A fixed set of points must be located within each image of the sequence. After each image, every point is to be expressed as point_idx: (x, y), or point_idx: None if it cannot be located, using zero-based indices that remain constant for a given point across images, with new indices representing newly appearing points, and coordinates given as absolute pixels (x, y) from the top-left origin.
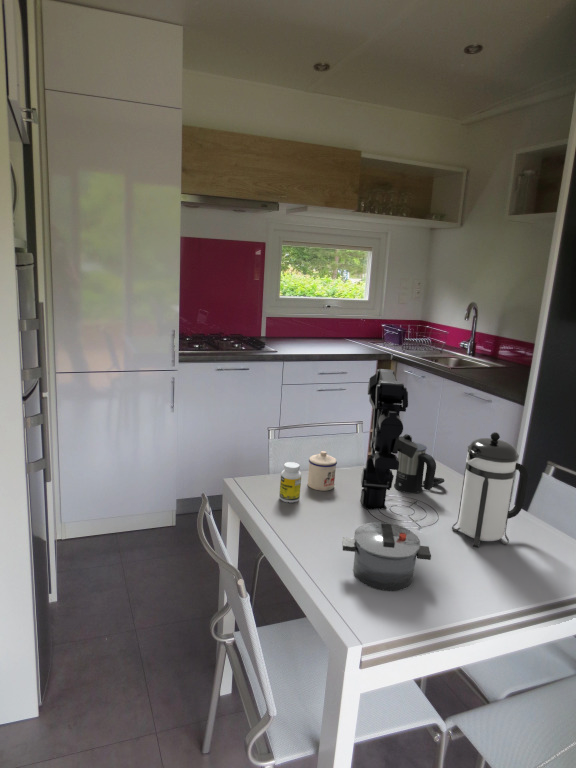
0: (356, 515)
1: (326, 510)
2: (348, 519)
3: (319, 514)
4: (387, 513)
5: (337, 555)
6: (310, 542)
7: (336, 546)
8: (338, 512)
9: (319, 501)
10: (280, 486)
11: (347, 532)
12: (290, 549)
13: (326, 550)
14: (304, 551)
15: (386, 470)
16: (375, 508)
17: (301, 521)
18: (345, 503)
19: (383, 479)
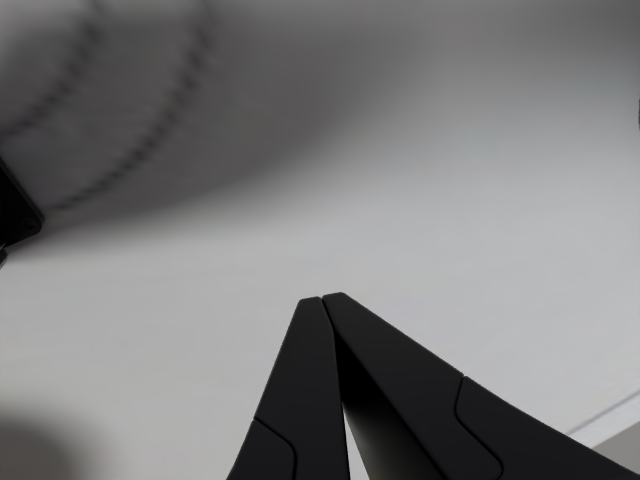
0: (171, 265)
1: (185, 407)
2: (246, 295)
3: (249, 420)
4: (14, 67)
5: (616, 274)
6: (522, 384)
7: (543, 292)
8: (180, 355)
9: (89, 458)
10: None
11: (401, 274)
12: (579, 422)
13: (579, 320)
14: (590, 383)
15: (518, 430)
16: (3, 167)
17: (350, 456)
18: (26, 348)
19: (373, 319)
